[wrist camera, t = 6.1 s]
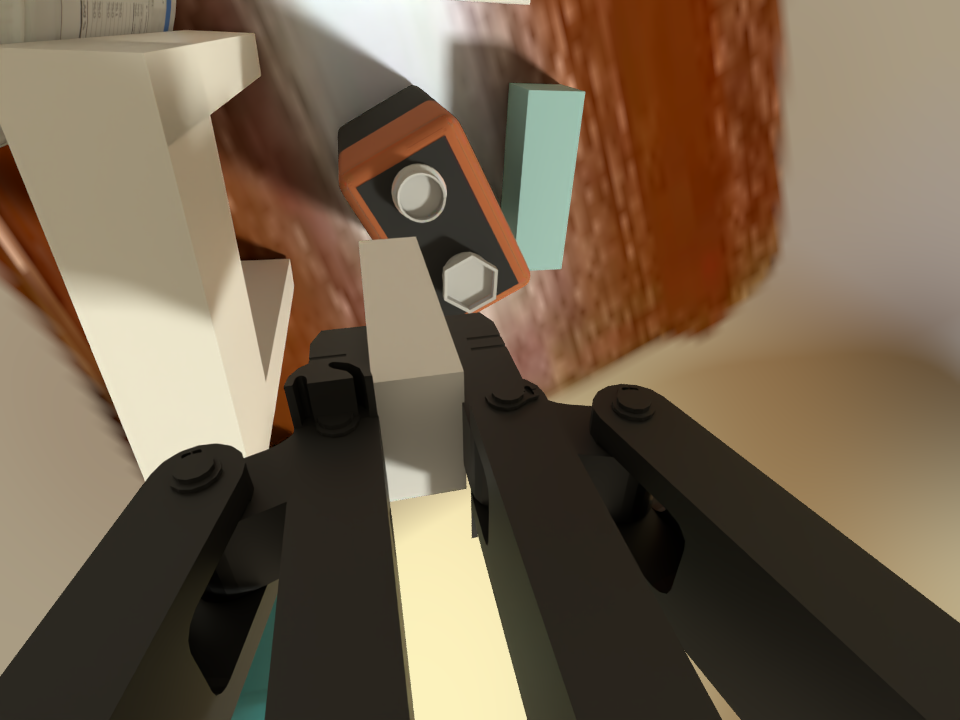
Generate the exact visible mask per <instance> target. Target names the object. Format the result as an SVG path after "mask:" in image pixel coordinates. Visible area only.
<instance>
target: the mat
mask: <svg viewBox="0 0 960 720" xmlns="http://www.w3.org/2000/svg"><path fill="white" fill-rule="evenodd" d="M457 1H473V2H489V3H504V4H520V5H530V0H457Z"/></svg>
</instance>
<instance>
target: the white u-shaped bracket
mask: <svg viewBox="0 0 960 720" xmlns="http://www.w3.org/2000/svg"><path fill="white" fill-rule="evenodd" d="M260 76H261V70H260V64H259V58H258V51H257V45H256V38H255V33H241V32H219V31H197V30H180V31H167V32H154V33H141V34H127V35H114V36H101V37H88V38H75V39H62V40H49V41H36V42H23V43H10V44H0V125H1V128H2V130H3V132H4V135H5V137H6V140H7V142H8V145H9V147H10V150H11V152H12V155H13V157H14V160H15V162H16V164H17V167H18V169H19V172H20V174H21V177H22V179H23V182H24V184H25V187H26V189H27V192H28V194H29V197H30V199H31V201H32V204H33V206H34V209H35V211H36V214H37V216H38V219H39V221H40V224H41V226H42V229H43V231H44V233H45V236H46V238H47V241H48V243H49V246H50V248H51V251H52V253H53V256H54V258H55V261H56V263H57V266H58V268H59V270H60V273H61V275H62V278H63V280H64V283H65V285H66V288H67V290H68V293H69V295H70V298H71V300H72V302H73V305H74V307H75V310H76V312H77V315H78V317H79V320H80V322H81V325H82V327H83V330H84V332H85V335H86V337H87V339H88V342H89V344H90V347H91V349H92V352H93V354H94V357H95V359H96V362H97V364H98V367H99V369H100V371H101V374H102V376H103V379H104V381H105V384H106V386H107V389H108V391H109V394H110V396H111V399H112V401H113V403H114V406H115V408H116V411H117V413H118V416H119V418H120V421H121V423H122V426H123V428H124V431H125V433H126V436H127V438H128V440H129V443H130V445H131V448H132V450H133V453H134V455H135V458H136V460H137V463H138V465H139V468H140V470H141V472H142V475H143V477H144V480H145V481H146V480H147V479H148V477H149V476H150V474H151V473H152V472H153V471H154V470H155V469H156V468H157V467H158V466H159V465H160V464H162V463H163V462H164V461H165V460H167V459H169V458H170V457H172V456H174V455H175V454H177V453H179V452H181V451H184V450H186V449H189V448H192V447H195V446H198V445H206V444H214V443H218V444H224V445H230V446H233V447H234V448H236V449H237V450H239V451H240V452H242V455H243V457H244V458H245V457H248V456H251V455H254V454H256V453H259V452H262V451H265V450H267V449H269V444H270V438H271V431H272V425H273V418H274V412H275V406H276V399H277V393H278V386H279V380H280V374H281V367H282V361H283V355H284V348H285V342H286V335H287V329H288V323H289V316H290V310H291V303H292V297H293V291H294V283H293V276H292V270H291V263H290V259H273V260H248V261H240V256H239V251H238V246H237V241H236V237H235V232H234V227H233V222H232V217H231V213H230V208H229V203H228V198H227V193H226V189H225V184H224V179H223V174H222V169H221V165H220V160H219V155H218V150H217V145H216V141H215V136H214V131H213V126H212V121H211V117H210V115H211V114H212V113H213V112H215V111H216V110H217V109H219V108H220V107H221V106H222V105H224V104H225V103H226V102H228V101H229V100H230V99H232V98H233V97H234V96H235V95H237V94H238V93H239V92H241V91H242V90H243V89H245V88H246V87H247V86H249V85H250V84H251V83H252V82H254V81H255V80H256V79H258V78H259V77H260Z"/></svg>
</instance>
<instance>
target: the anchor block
mask: <svg viewBox="0 0 960 720" xmlns="http://www.w3.org/2000/svg"><path fill="white" fill-rule="evenodd" d="M584 97H585V91H581V90H578V89H575V88H571V87H568V86H564V85H561V84H532V83H509V94H508V109H507V124H506V140H505V155H504V170H503V185H502V200H501V210H502V213H503V215H504V217H505V219H506V221H507V223H508V225H509V227H510V229H511V232H512V234H513V236H514V238H515V240H516V242H517V244H518V246H519V248H520V251H521V253H522V255H523V257H524V259H525V261H526V263H527V266H528V268H529V271H530V270H551V269H561V267H562V260H563V252H564V245H565V238H566V230H567V223H568V215H569V208H570V201H571V193H572V186H573V178H574V171H575V164H576V156H577V149H578V141H579V134H580V127H581V119H582V112H583V104H584Z"/></svg>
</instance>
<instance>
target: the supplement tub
mask: <svg viewBox="0 0 960 720" xmlns="http://www.w3.org/2000/svg"><path fill="white" fill-rule="evenodd" d="M175 13H176V0H0V44H10V43H23V42H36V41H49V40H62V39H75V38H88V37H101V36H114V35H127V34H141V33H154V32H167V31H173V26H174V20H175ZM7 144H8V142H7V140H6V137H5V135H4V132H3V130H2V128H1V125H0V147H2V146H5V145H7Z"/></svg>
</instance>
